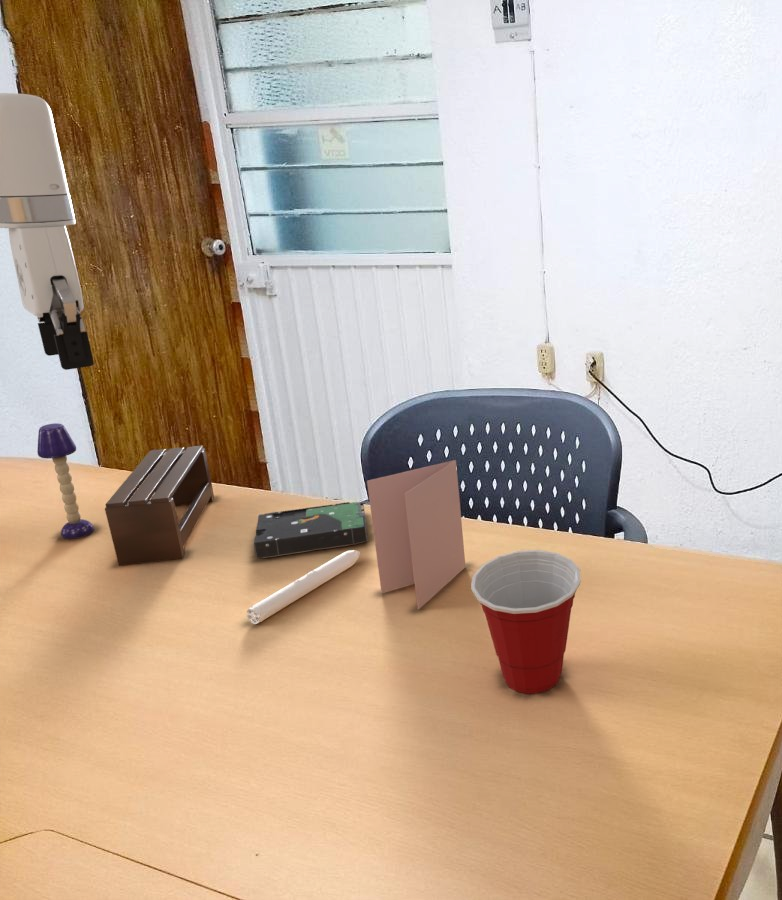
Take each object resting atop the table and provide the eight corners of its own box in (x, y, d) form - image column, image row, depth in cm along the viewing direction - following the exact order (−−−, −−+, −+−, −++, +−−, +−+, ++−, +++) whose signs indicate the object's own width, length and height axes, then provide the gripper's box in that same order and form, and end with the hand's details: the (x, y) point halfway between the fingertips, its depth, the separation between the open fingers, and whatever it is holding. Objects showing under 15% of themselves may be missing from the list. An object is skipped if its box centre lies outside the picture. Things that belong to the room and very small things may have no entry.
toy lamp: (104, 529, 123) (77, 422, 117) (77, 542, 119) (48, 432, 113) (79, 525, 124) (52, 419, 119) (51, 538, 120) (21, 429, 114)
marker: (354, 557, 112) (352, 542, 111) (366, 560, 111) (364, 544, 110) (247, 622, 97) (244, 604, 96) (260, 626, 96) (257, 608, 95)
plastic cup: (466, 708, 81) (455, 599, 77) (494, 646, 91) (487, 547, 87) (575, 715, 79) (570, 605, 75) (592, 651, 89) (589, 552, 85)
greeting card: (462, 564, 109) (452, 458, 104) (488, 586, 103) (479, 474, 98) (379, 590, 103) (364, 478, 98) (401, 615, 97) (387, 497, 92)
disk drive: (257, 562, 112) (369, 543, 116) (253, 543, 111) (367, 525, 115) (260, 531, 121) (365, 515, 125) (257, 514, 120) (362, 497, 124)
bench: (118, 565, 111) (103, 504, 108) (160, 503, 132) (148, 450, 128) (182, 558, 113) (169, 497, 110) (214, 497, 133) (204, 445, 130)
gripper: (-17, 211, 97) (20, 353, 103) (7, 218, 85) (46, 379, 91) (57, 207, 102) (88, 344, 108) (89, 214, 90) (122, 367, 96)
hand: (69, 360), depth 99 cm, fingers open, 9 cm apart
